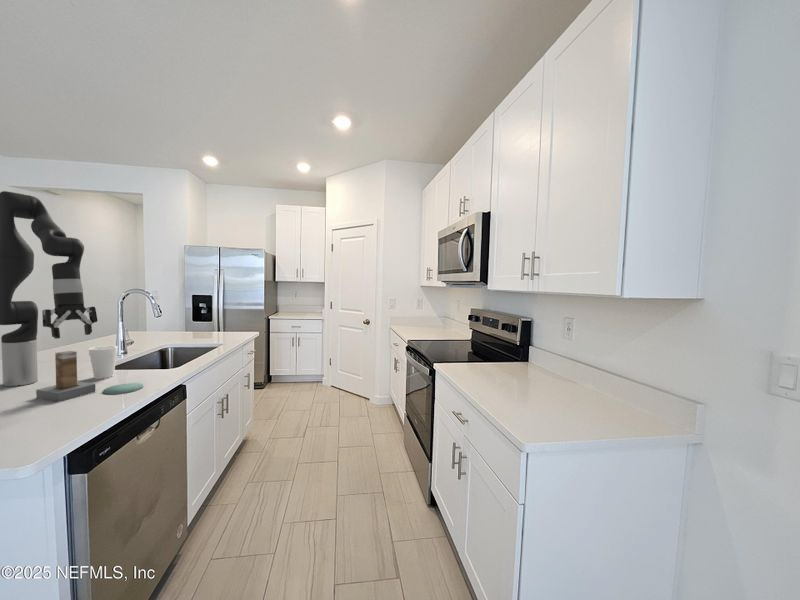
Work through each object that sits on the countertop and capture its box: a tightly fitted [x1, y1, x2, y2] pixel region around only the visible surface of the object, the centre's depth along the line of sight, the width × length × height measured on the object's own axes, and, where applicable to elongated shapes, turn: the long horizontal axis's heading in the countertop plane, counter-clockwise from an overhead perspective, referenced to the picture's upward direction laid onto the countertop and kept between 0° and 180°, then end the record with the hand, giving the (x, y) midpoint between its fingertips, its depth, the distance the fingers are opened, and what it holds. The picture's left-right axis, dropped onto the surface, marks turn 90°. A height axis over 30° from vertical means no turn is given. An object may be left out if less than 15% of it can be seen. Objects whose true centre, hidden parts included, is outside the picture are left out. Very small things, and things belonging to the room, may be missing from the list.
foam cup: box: [88, 345, 119, 380], centre depth 143 cm, size 10×9×13 cm
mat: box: [102, 382, 144, 395], centre depth 128 cm, size 12×12×1 cm
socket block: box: [35, 380, 96, 403], centre depth 121 cm, size 11×11×3 cm
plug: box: [55, 350, 78, 390], centre depth 120 cm, size 4×4×16 cm
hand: (73, 336), depth 119 cm, fingers open, 8 cm apart
